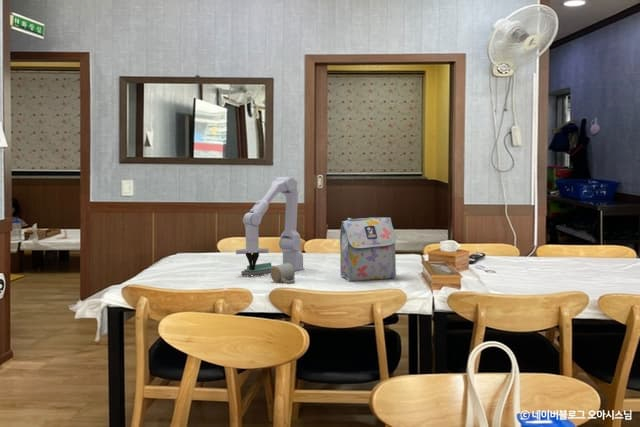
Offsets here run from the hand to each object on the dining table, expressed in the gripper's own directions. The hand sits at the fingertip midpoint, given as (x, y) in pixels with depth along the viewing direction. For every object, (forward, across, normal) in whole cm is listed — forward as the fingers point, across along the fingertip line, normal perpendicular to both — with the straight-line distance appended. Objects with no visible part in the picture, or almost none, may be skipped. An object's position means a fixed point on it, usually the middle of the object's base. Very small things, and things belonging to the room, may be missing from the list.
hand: (252, 269), depth 317 cm
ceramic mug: (+3, -10, +20) cm, 22 cm away
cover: (+1, -5, -6) cm, 8 cm away
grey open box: (+3, -4, -6) cm, 8 cm away
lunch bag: (+3, -47, +22) cm, 52 cm away
